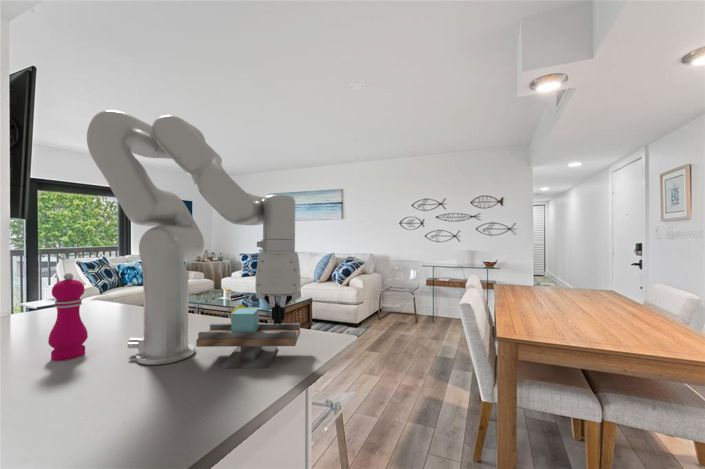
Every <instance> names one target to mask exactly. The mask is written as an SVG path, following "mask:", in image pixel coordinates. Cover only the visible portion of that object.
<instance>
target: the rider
mask: <svg viewBox="0 0 705 469" xmlns="http://www.w3.org/2000/svg"><path fill="white" fill-rule="evenodd" d="M259 310H260V309H259V307H258V308H257V307H255V308H253V307H252V308H247V307H246V308H238V309H237V310H236V311H234V312H233V313H232V312H231V313H232V314H231V313H230V323H231V332H256V331H257V330H258V329H259V323H260V322H259V321H260V320H259V319H260V316H259V315H260V312H259Z"/></svg>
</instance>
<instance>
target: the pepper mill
mask: <svg viewBox="0 0 705 469" xmlns="http://www.w3.org/2000/svg"><path fill="white" fill-rule="evenodd" d="M73 278H74V274H73V273H70V272H67V273H64V275H63V280H60V281H58V282H56V283H55V284H53V287H52V289H51V295H52V297H53V298H54V299H56V301H54V304H55V305H54V308H56V312H57V314H56V320H55V322H54V325H53V326H52V329H51V331H50V333H49V336H48V341H47V342H48V345H49V346H50V347H52V350H51V352H50V359H51V361H54V360H55V362H61V361H62V362H63V361H70V360H74V359H77V358H80V357H82V356H84V355H85V354H86V346H85V344H84V343H85V342H86V341H87V340H88V338H89V336H88V330H87V328H86V326H85V324H84V322H83V321H82V319H81V315H80V314H81V313H80V307H81V305H83V303H82V301H83V299H82V298H81V297H82V296H83V295H84V293H85V290H86V289H85V285H84V283H83V282H82V281H80V280H77V279H73Z"/></svg>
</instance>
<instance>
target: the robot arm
mask: <svg viewBox="0 0 705 469" xmlns="http://www.w3.org/2000/svg"><path fill="white" fill-rule="evenodd" d="M86 144H87V148H88V152H89V154H90V156H91V158H92V160H93V161H94V163H95V164H96V166H97V168H98V170H99V171H100V173H101V175H103V177H104V178H105V180H106V182H107V183H108V185H109V188H110V190H111V191H112V193H113V195H114V197H115V198H116V200H117V202H118V204H119V205H120V207H121V209H122V210H123V213H124V214H125V215H126V217H127V219H128V220H129V221H130V222H131V223H133V224H135V225H138V226H145V227H151V228H149V229H148V230H145V232H144V233H143V234H142V236H141V238H140V239H139V243H138V253H139V258H140V263H141V269H142V278H143V279H142V280H143V282H142V283H143V286H142V287H143V337H130V338H129V340H128V343H127V349H137V350H138V351H137V353H136V354H135V361H136V362H137V363H138V364H141V365H148V366H149V365H151V366H152V365H153V366H154V365H155V366H156V365H158V366H159V365H164V364H165V365H166V364H170V363H172V364H173V363H175V362H179V361H182V360H185V359H187V358H190V357H191V356H193V355H194V354H195V352H196V347H195V345H194V344H193V343H190V342H189V277H188V276H189V275H188V271H187V268H186V265H185V262H191V261H193V260H195V259H197V258H198V257H200V256H201V255H202V253H203V251H204V248H205V240H204V239H205V238H204V235H203V234H202V232H201V229H200V228H199V226H198V224H197V223H196V220H195V219H194V217H193V215H192V213H191V212H190V210H189V209H188V207H187V205H186V204H185V202H184V201H183V200H182V199H181V197H179V196H178V195H177V194H175V193H174V192H171V191H169V190H164V189H160V188H159V187H157V186H156V185H155V184H154V182H153V181H152V179H151V178H150V176H149V174H148V172H147V170H146V169H145V167H144V166H143V165H142V163H141V162H140V161H139V160H138V159H137V157H136V156H135V155H137V156H140V157H144V158H150V159H167V160H169V159H170V160H173V161H174V162H175V163H176V165H178V166H179V167H180V168H181V169H182V170H183V171H184V172H185V173H186V174H187V176H189V177H190V178H191V179H192V181H193V184H194V185H195V187H196V189H197V190H198V192H199V194H200V195H201V197H203V199H204V200H205V201H206V202H207V203H208V204H209V205H210V207H212V209H214V210H215V211H216V212H217V213H218V214H219V215H220V216H221V217H223V219H224V220H226V221H227V222H229V223H231V224H234V225H237V226H239V225H240V226H241V225H242V226H258V225H259V226H260V225H262V239H261V240H260V241H257V242H256V248H261V250H262V251H261V252H259V253H258V257H257V263H256V264H257V265H256V271H255V272H256V273H255V287H254V289H255V298H256V299H259V300H263V301H265V302H267V305H269V307H271V321H273V323H274V324H277V323H278V324H281V323H283V321H284V320H285V319H286V306H287V305H288V304H289V303H290V302H291V301H293V300H298V299H300V298H301V297H302V293H301V267H300V266H301V265H300V260H299V255H298V252H296V200H295V198H294V197H293V196H291V195H287V194H268V195H266V196H259V195H255V194H252V193H250V192H249V193H248V192H246V191H245V190H244V189H243V187H241V186H240V185H239V184H238V183H237V182H236V181H235V180H234V179H232V177H230V174H228V173H227V171H226V170H225V169H224V167H223V165H222V164H223V162H222V158H221V155H219V153H217V152H216V151H215V149H214V148H212V147H211V146H210V145H209V144H208V142H206V138H205V136H204V134H203V133H202V131H200V129H198V128H197V127H196V126H194V125H192V124H191V123H189V122H188V121H186V120H184V119H183V118H181V117H179V116H177V115H172V114H167V115H162V116H160V117H158V118H156V119H155V120H154V121H153V123H152V125H151V124H149V123H147V122H145V121H143V120H141V119H139V118H136V117H135V116H133V115H130V114H128V113H126V112H123V111H119V110H115V109H113V110H112V109H107V110H102V111H100V112H98V113H96V114H95V115H94V116H93V117H92V118H91V121H90V122H89V125H88V127H87V132H86ZM277 296H280V297H281V298H280V303H278V298H277Z"/></svg>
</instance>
